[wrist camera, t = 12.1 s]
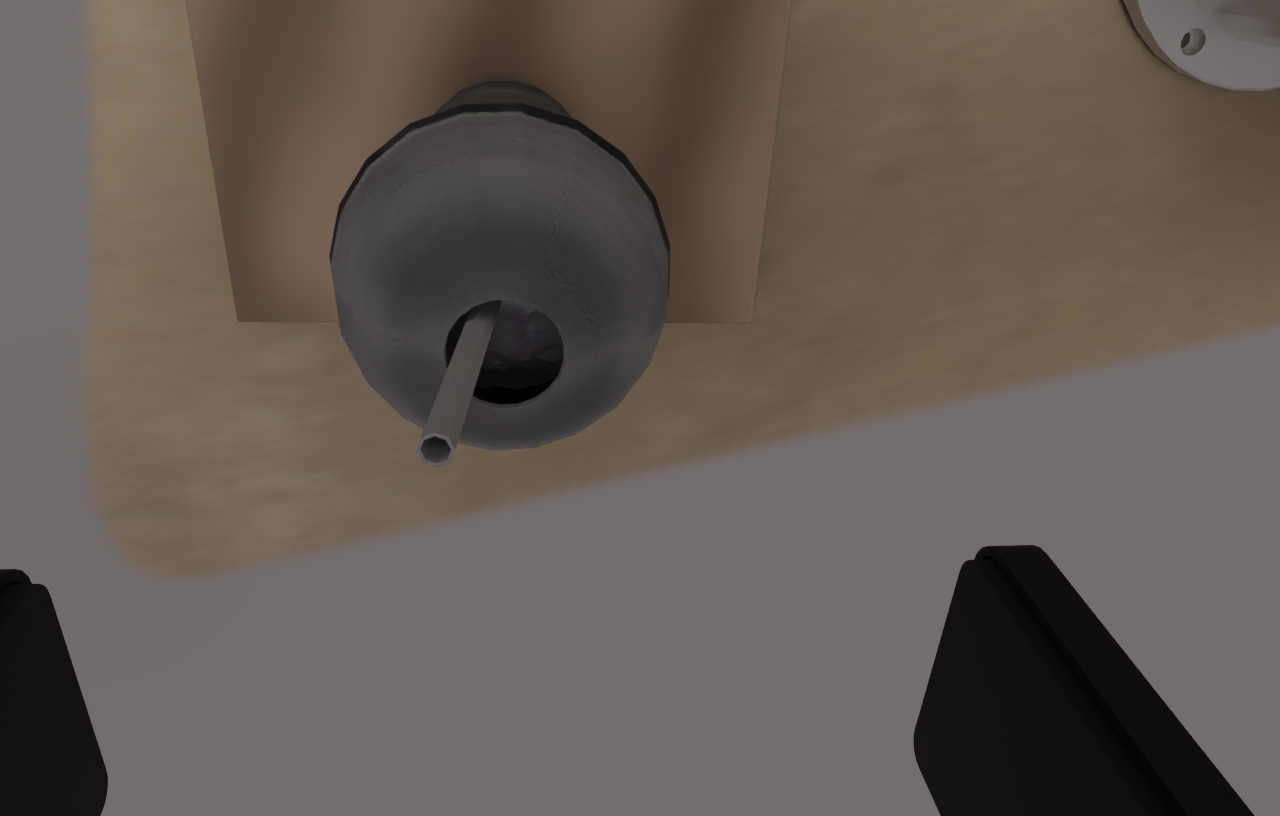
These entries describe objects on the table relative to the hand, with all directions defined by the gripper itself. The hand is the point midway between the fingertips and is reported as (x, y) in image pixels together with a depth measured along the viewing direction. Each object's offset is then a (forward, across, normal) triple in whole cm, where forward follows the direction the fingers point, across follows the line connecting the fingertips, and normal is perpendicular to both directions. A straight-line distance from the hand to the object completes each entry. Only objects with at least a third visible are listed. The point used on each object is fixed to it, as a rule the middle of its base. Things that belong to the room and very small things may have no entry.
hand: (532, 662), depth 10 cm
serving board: (+25, +1, 0) cm, 25 cm away
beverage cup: (+23, +1, 0) cm, 23 cm away
